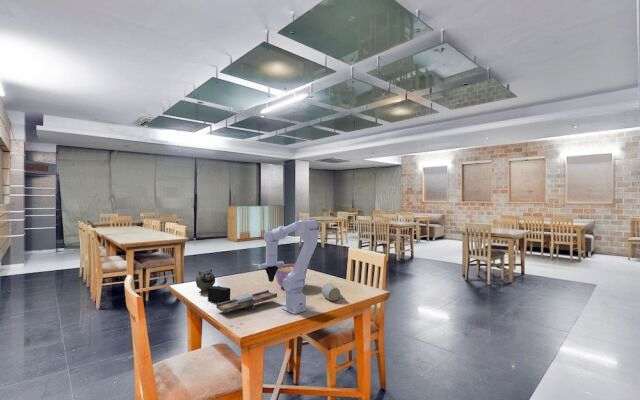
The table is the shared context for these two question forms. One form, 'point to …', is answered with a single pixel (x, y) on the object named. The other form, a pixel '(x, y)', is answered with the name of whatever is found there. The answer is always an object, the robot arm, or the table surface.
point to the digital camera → (218, 294)
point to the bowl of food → (284, 272)
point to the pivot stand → (251, 307)
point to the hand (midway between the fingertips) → (271, 281)
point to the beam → (257, 298)
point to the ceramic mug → (331, 292)
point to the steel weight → (242, 298)
